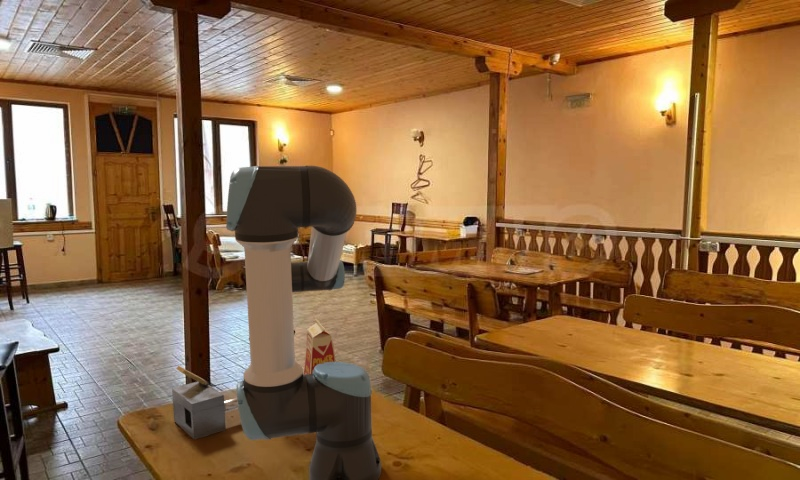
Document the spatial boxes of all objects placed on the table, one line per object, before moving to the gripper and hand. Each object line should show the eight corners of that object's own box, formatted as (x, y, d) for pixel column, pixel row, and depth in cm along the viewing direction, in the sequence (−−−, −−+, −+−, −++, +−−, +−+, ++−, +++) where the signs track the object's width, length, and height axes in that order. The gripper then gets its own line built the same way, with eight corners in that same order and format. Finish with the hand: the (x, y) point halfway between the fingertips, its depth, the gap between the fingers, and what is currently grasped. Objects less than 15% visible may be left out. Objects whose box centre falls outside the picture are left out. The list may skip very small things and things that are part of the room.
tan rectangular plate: (207, 386, 143) (209, 383, 144) (182, 373, 139) (185, 370, 139) (200, 381, 147) (202, 378, 147) (175, 368, 143) (178, 365, 143)
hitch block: (226, 429, 138) (224, 395, 137) (194, 439, 133) (191, 404, 132) (204, 412, 149) (202, 380, 148) (174, 421, 144) (171, 388, 143)
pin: (270, 405, 147) (269, 388, 147) (214, 422, 137) (213, 405, 137) (262, 400, 151) (261, 384, 150) (207, 417, 141) (205, 399, 140)
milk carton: (302, 382, 169) (299, 319, 167) (330, 377, 173) (328, 315, 171) (310, 392, 161) (307, 326, 159) (340, 387, 165) (337, 322, 163)
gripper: (286, 301, 155) (289, 382, 157) (242, 309, 146) (246, 395, 149) (299, 306, 149) (303, 390, 152) (254, 314, 141) (259, 403, 143)
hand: (275, 392), depth 150 cm, fingers closed
